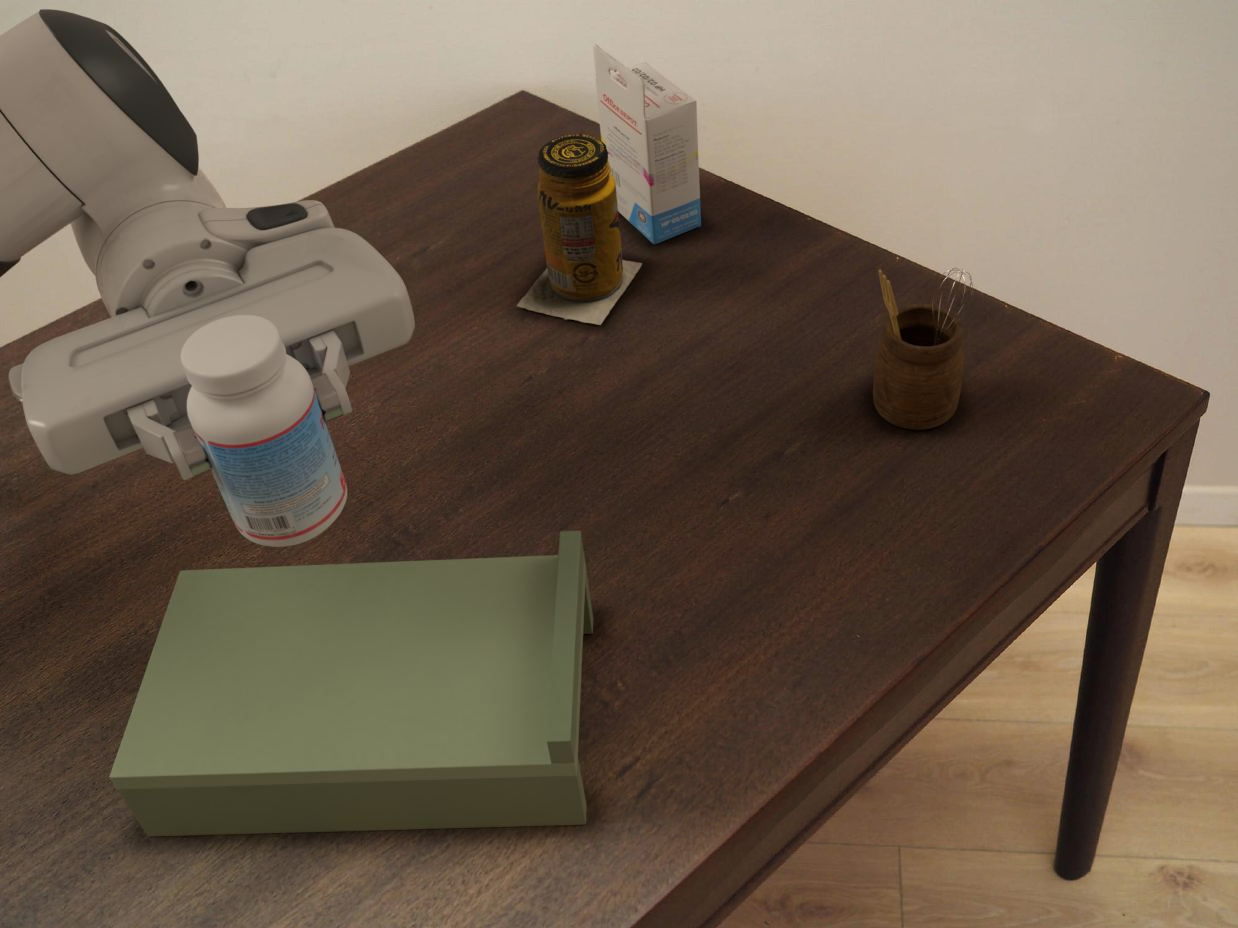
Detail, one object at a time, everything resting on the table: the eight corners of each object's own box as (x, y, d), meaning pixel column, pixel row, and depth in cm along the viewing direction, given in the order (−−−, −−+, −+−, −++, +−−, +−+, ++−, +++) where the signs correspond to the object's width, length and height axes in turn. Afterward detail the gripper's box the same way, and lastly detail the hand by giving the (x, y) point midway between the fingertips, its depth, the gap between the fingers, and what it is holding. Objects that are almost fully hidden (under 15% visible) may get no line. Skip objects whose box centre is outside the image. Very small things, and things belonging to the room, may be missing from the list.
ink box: (704, 227, 107) (698, 63, 97) (653, 247, 105) (642, 83, 95) (653, 183, 112) (642, 23, 102) (604, 201, 111) (588, 41, 101)
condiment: (642, 265, 104) (632, 133, 95) (600, 327, 98) (586, 193, 90) (562, 250, 106) (545, 120, 98) (516, 309, 101) (495, 177, 92)
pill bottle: (372, 490, 68) (322, 325, 60) (295, 567, 64) (231, 402, 56) (288, 454, 70) (229, 291, 62) (210, 526, 67) (137, 362, 59)
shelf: (147, 836, 69) (94, 755, 64) (210, 632, 79) (168, 547, 74) (586, 825, 68) (570, 740, 62) (593, 618, 78) (580, 530, 72)
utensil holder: (973, 420, 88) (996, 279, 79) (889, 443, 87) (903, 302, 78) (934, 369, 92) (952, 229, 83) (853, 390, 91) (863, 250, 82)
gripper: (-23, 317, 66) (28, 473, 57) (345, 189, 72) (442, 312, 63) (26, 407, 70) (80, 565, 62) (368, 279, 77) (462, 406, 68)
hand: (267, 435), depth 62 cm, fingers closed on pill bottle, 6 cm apart
